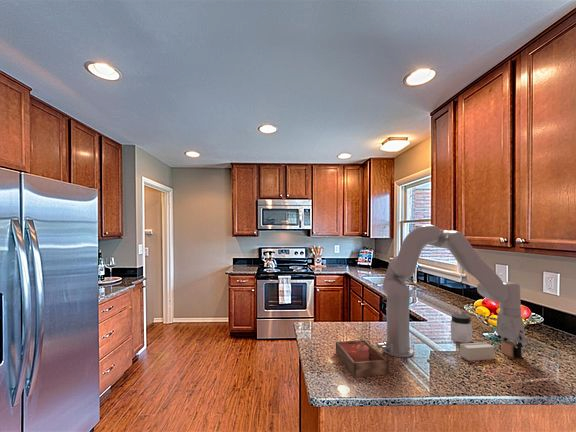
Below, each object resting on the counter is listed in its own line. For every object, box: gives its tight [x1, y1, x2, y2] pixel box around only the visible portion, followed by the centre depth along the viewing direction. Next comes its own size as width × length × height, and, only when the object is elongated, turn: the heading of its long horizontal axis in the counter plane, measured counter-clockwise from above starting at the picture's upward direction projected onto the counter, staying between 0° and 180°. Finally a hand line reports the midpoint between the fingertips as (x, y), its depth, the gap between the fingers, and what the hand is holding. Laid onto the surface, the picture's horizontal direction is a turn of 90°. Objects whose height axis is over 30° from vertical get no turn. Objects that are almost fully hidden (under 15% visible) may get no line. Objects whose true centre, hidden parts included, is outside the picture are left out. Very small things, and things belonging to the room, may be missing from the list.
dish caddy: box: [335, 339, 389, 378], centre depth 128 cm, size 14×23×5 cm, turn 8°
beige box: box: [459, 342, 496, 361], centre depth 132 cm, size 12×5×5 cm, turn 98°
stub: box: [500, 340, 523, 358], centre depth 134 cm, size 5×5×5 cm
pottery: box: [340, 342, 371, 362], centre depth 130 cm, size 18×10×10 cm, turn 8°
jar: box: [450, 313, 473, 344], centre depth 153 cm, size 9×8×12 cm
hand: (511, 353), depth 134 cm, fingers closed on stub, 5 cm apart
